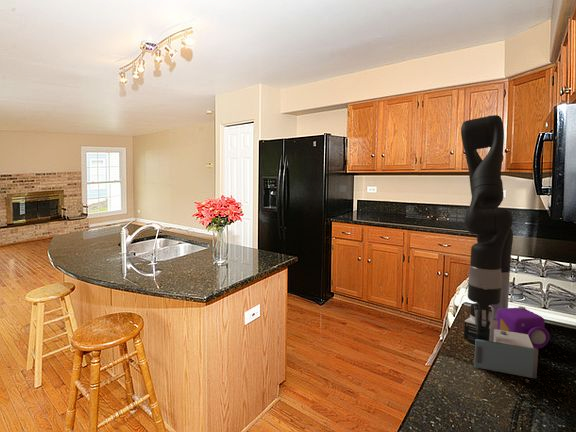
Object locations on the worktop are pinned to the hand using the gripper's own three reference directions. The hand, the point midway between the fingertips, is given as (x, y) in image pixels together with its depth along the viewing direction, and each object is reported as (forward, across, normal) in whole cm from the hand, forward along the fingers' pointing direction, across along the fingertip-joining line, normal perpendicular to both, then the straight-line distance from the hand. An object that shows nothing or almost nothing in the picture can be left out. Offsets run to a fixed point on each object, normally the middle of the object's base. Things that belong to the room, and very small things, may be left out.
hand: (481, 345), depth 92 cm
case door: (+5, +3, +5) cm, 8 cm away
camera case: (+5, -4, +8) cm, 10 cm away
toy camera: (+6, -19, +12) cm, 23 cm away
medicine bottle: (+6, -14, +1) cm, 15 cm away
